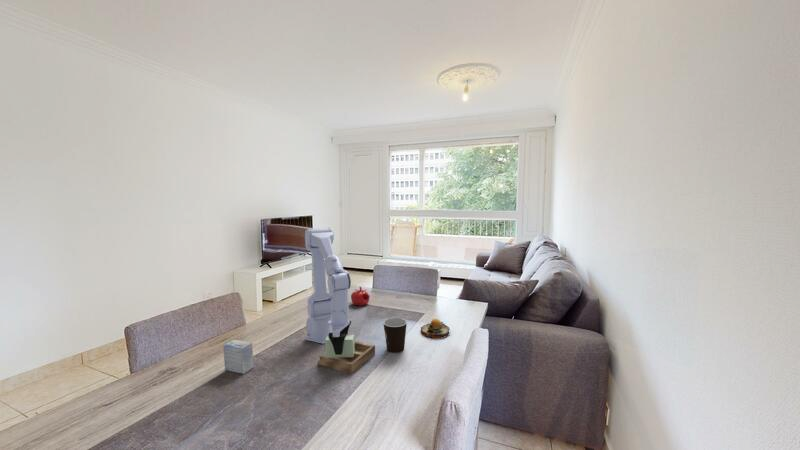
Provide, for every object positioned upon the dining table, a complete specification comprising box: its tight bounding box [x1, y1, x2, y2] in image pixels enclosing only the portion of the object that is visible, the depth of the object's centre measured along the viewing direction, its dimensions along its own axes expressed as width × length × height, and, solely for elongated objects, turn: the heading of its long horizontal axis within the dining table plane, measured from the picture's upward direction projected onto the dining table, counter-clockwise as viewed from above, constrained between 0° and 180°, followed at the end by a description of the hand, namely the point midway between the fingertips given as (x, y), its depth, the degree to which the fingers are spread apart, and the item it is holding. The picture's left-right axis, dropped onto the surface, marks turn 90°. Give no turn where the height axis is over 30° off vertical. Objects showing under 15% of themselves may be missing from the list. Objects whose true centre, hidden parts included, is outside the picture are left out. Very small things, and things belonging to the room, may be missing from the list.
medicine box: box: [223, 339, 255, 375], centre depth 99 cm, size 8×4×9 cm, turn 71°
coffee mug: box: [383, 317, 408, 354], centre depth 113 cm, size 12×9×10 cm
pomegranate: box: [350, 286, 370, 307], centre depth 161 cm, size 10×10×9 cm
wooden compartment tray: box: [317, 340, 376, 375], centre depth 105 cm, size 14×14×3 cm
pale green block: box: [324, 334, 355, 358], centre depth 101 cm, size 9×4×6 cm, turn 90°
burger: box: [420, 318, 451, 339], centre depth 125 cm, size 12×12×8 cm
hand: (340, 348), depth 102 cm, fingers open, 7 cm apart
